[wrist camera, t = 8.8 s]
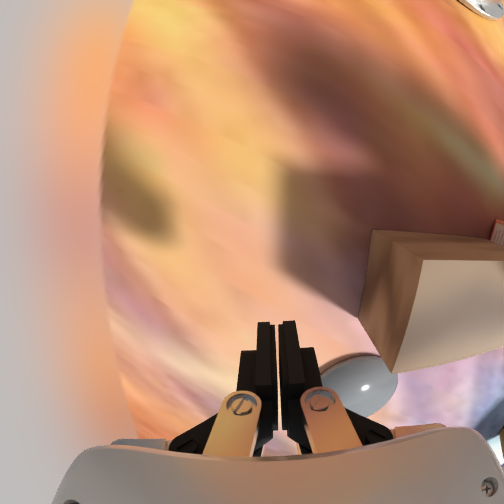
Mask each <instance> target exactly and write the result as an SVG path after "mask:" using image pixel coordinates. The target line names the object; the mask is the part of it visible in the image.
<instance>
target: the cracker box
mask: <svg viewBox="0 0 504 504" xmlns="http://www.w3.org/2000/svg"><path fill="white" fill-rule="evenodd" d="M490 241H492V242H494V243H497V244H499V245H501V246H504V221H501V220H498V219H496V221H495V224H494V228H493V231H492V234H491V237H490Z"/></svg>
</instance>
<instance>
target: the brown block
mask: <svg viewBox="0 0 504 504" xmlns="http://www.w3.org/2000/svg"><path fill="white" fill-rule="evenodd" d="M358 319H359V321H360V323H361V324H362V326H363V328H364V329H365V331H366V332H367V334H368V336H369V337H370V339H371V341H372V342H373V344H374V346H375V347H376V349H377V351H378V352H379V354H380V356H381V358H382V359H383V361H384V363H385V364H386V366H387V368H388V370H389V371H390V373H391V374H396V373H402V372H407V371H413V370H418V369H423V368H428V367H433V366H437V365H442V364H446V363H450V362H454V361H458V360H462V359H466V358H469V357H473V356H476V355H480V354H483V353H486V352H489V351H493V350H496V349H499V348H501V347H504V246H501V245H499V244H497V243H494V242H492V241H490V240H487V239H485V238H482V237H472V236H460V235H448V234H435V233H421V232H407V231H391V230H373V229H372V234H371V242H370V250H369V257H368V264H367V271H366V277H365V283H364V289H363V295H362V300H361V305H360V310H359V315H358Z"/></svg>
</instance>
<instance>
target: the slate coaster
mask: <svg viewBox="0 0 504 504" xmlns="http://www.w3.org/2000/svg"><path fill="white" fill-rule="evenodd" d="M320 376H321V381H322V385H323V387H327V388H330V389H332V390H333V391H335V392H336V393H337V394H338V396H339V398H340V400H341V402H342V404H343V406H344V407H345V408H347V409H349V410H351V411H353V412H355V413H357V414H359V415H361V416H363V417H365V418H366V417H368V416H370V415H372V414H374V413H375V412H377V411H378V410H379V409H380V408H382V407H383V406H384V405H385V404H386V403H387V402H388V401H389V400H390V398H391V397H392V395H393V394H394V392H395V390H396V387H397V384H398V375H397V373H396V374H391V373H390V371H389V370H388V368H387V366H386V364H385V363H384V361H383V359H382V358H381V357H379V356H373V355H365V356H358V357H353V358H350V359H347V360H344V361H342V362H339V363H337V364H335V365H333V366H332V367H330V368H328V369H327V370H326V371H324V372H323V373H322V374H321V375H320Z"/></svg>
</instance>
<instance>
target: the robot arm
mask: <svg viewBox="0 0 504 504" xmlns="http://www.w3.org/2000/svg"><path fill="white" fill-rule="evenodd" d="M459 1H460V2H461V3H463V4H464V5H465V6H466V7H468V8H469V9H471V10H472V11H473V12H475V13H477V14H478V15H480V16H482V17H484V18H486V19H488V20H498V19H500V18H502V17H503V15H504V9H503V4H502V2H503V1H504V0H459ZM278 332H279V377H280V396H281V416H282V430H287V436H289V438H291V439H292V440H294V441H295V442H297V449H298V452H299V455H291V456H272V457H263V453H264V448H265V444H266V443H267V442H268V441H270V440H271V439H272V438H273V430H278V383H277V361H276V342H275V325H270V322H258V328H257V350H251V351H241V357H240V365H239V374H238V382H237V391H236V392H233V393H231V394H229V395H228V396H226V397H225V398H224V400H223V402H222V404H221V407H220V410H219V412H218V413H217V414H216V415H214V416H212V417H211V418H209V419H207V420H206V421H204V422H202V423H201V424H199V425H197V426H195V427H194V428H192V429H190V430H188V431H186V432H185V433H183V434H181V435H179V436H177V437H176V438H175V439H173V440H172V441H166V439H119V440H116V441H114V442H112V443H111V444H110V445H104V446H96V447H92V448H89V449H86V450H84V451H83V452H82V453H81V454H79V455H78V456H77V457H76V459H75V460H74V461H73V463H72V464H71V466H70V467H69V469H68V471H67V472H66V474H65V476H64V478H63V480H62V482H61V484H60V486H59V488H58V490H57V492H56V495H55V497H54V500H53V502H52V504H504V471H503V469H502V467H501V465H500V463H499V461H498V459H497V457H496V455H495V453H494V452H493V450H492V448H491V447H490V445H489V444H488V443H487V441H486V440H485V438H484V437H483V436H482V435H481V434H480V433H479V432H477V431H476V430H474V429H471V428H467V427H446V426H445V425H443V424H440V423H434V424H425V425H415V426H402V427H395V428H394V429H390V430H389V429H388V428H387V427H385V426H383V425H381V424H379V423H376V422H374V421H372V420H370V419H368V418H365V417H363V416H361V415H359V414H357V413H355V412H353V411H351V410H349V409H347V408H345V407H344V406H343V404H342V402H341V400H340V398H339V396H338V394H337V393H336V392H335V391H333V390H332V389H330V388H327V387H323V385H322V381H321V376H320V372H319V368H318V363H317V359H316V355H315V350H314V348H313V347H309V348H300V346H299V340H298V335H297V329H296V323H295V320H294V321H283V324H279V325H278Z"/></svg>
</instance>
